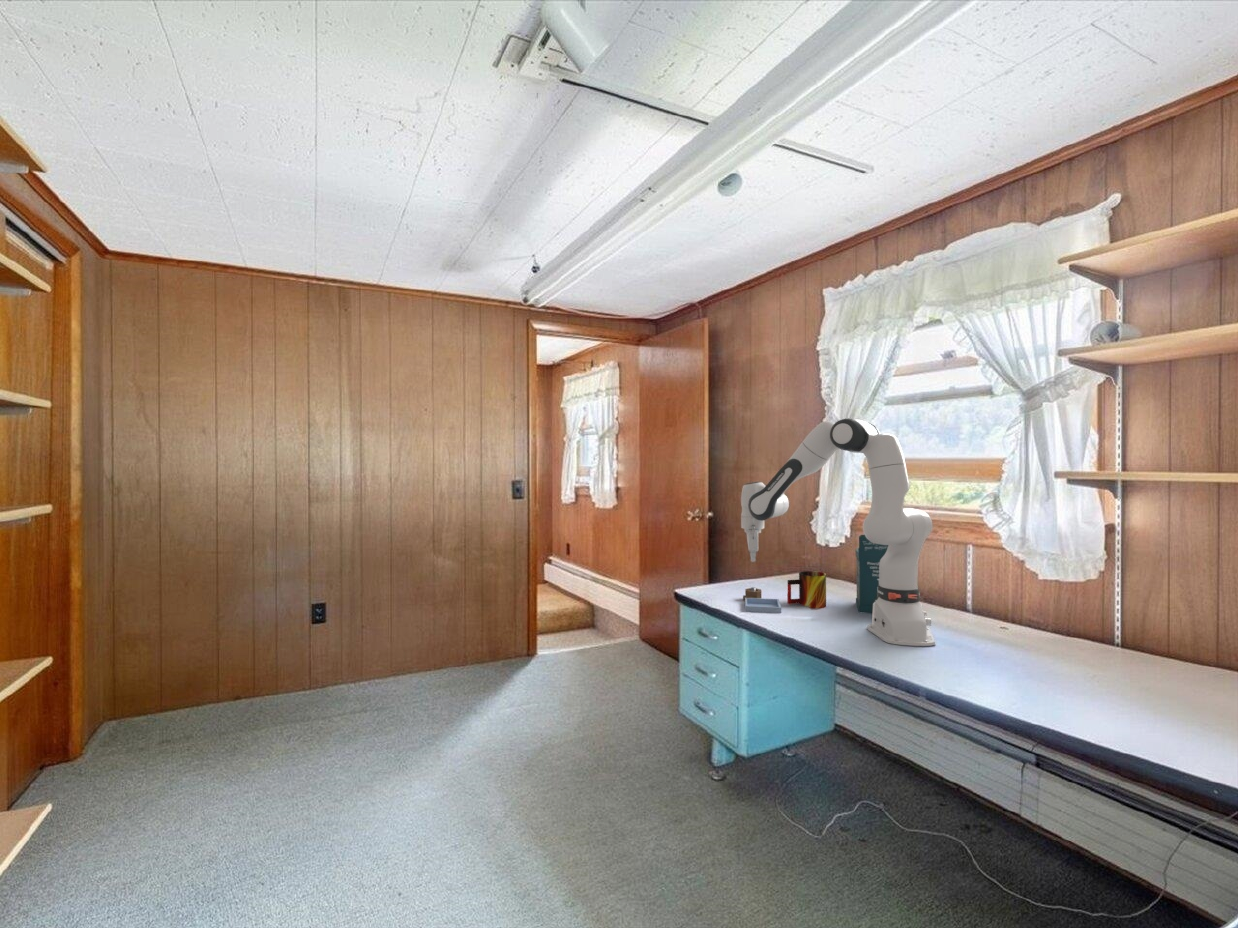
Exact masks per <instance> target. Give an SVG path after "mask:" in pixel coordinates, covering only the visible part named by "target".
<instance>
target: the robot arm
mask: <svg viewBox="0 0 1238 928" xmlns="http://www.w3.org/2000/svg"><path fill="white" fill-rule="evenodd" d="M838 450H842V451H847V452H850V453H854V454H855V453H856V454H857V453H858V454H859V453H860V454H863V455H864V456H865V458H866V461H867V467H868V472H869V473H868V474H869V478H870V486H871V492H872V493H871V495H872V496H871V503H870V509H869V512H868V514H867V515H866V517H865V518H864V520H863V524H862V532H863V535H865V537H866V538H867V539H868V540H869V541H870V542H872V543H875V544H880V545H888V548H887V551H886V553H885V555H884V556H883V557H882V558H881V560H880V562H879V585H878V589H877V591H878V596H879V597H878V599H877V600H876V601H875V602H874V603H873V613H871V614H872V615H871V616H872V617H871V618H872V619H871V620H872V621H871V623H870V624H867V625H866V629H867V630H868V631H869V632H871V633H872V634H873V635H875V636H876V637H877V638H879V639H880V640H882V641H883V642H885V643H888V644H892V645H893V644H894V645H898V646H899V645H900V646H901V645H902V646H912V647H913V646H916V647H930V646H936V641H935V638H934V635H933V632H932V630H931V628H929V627H930V626H932V619H931V618H930V617H928V616H927V615H928V614H927V611H924V609H923V604H922V603H921V602H920V601H921V598H920V597H921V595H920V589H919V587H918V573H919V572H918V569H919V568H918V566H919V560H920V555H921V553H922V550H923V546H924V543H925V541H926V540H927V539H928V537H929V536H930V535H931V533H932V532H933V531H932V530H933V528H934V527H933V521H932V518H931V517H930V515H929V514H928V513H927V512H925V511H923V510H921V509H915V508H912V507H911V508H904V502H905V497H906V495H907V493H908V492H909V490H910V482H909V476H908V471H907V465H906V461H905V456H904V453H903V449H902V447H901V444H900V442H899V439H898V437H896V436H895V435H894V434H890V433H886V432H885V433H881V432H880V430H879V429H878V427H876V426H875V425H874V424H873V423H870V422H867V421H864V420H861V419H856V418H855V419H854V418H848V417H847V418H842V419H840V420H837V421H836V422H835V423H833V422H830V421H822V422H820V423H819V424H818V425H816V426H815V427H814V428H813V429H812V430H811V431H810V432H809V433H808V434H807V435H806V437H804V439H803V440H802V442H801V443H800V444H799V445H798V446H797V448H796V450H795V451H794V452H793V453H792V455H791V456H790V458H788V460H787V461H786V463H784V465H783V466H782V467H780V469H779V470H778V471H777V473H776V474H775V475H774V476H773V477H772V478H771V480H769V482H768V483H767V484H764V483H763V482H762V481H752V482H747V483H745V484H744V485H742V489H741V494H740V496H741V497H740V505H741V514H740V528H741V529H743V530H744V533H746V540H747V548H748V552H749V556H750V562H752V563H755V562H756V560H757V559H756V558H757V557H756V556H757V552H759V534H761V533H762V530H764V529H765V521H766V520H768V519H773V518H777V517H780V516H783V515H785V514H786V513H787V512H788V511H789V508H790V501H789V497H788V496H787V494H785V492H786V491H787V490H788V489H789V488H790V487H791V486H792V485H793V484H794V483H795V482H796V481H798V480H800V479H802V478H805V477H807V476H810V475H813V474H815V473H817V472H818V471H819V470H820V469H822V468H823V467H824V466H825V465H826V464H827V463H828V461H829V460H830V459H831V457H832V456H833V455H834V454H835V453H836V451H838ZM926 616H927V617H926Z"/></svg>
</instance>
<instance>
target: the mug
mask: <svg viewBox="0 0 1238 928" xmlns="http://www.w3.org/2000/svg"><path fill="white" fill-rule="evenodd" d="M792 585H793V586H794V585H798V588H799V589H798V591H799V592H798V596H799V597H798V598H792ZM786 599H787V604H789V605H792V604H799V605H801V606H804V607H808V608H809V609H824V608H826V607H827V573H825V572H823V571H822V572H821V571H815V570H805V571H800V572H798V578H797V579H787V598H786Z"/></svg>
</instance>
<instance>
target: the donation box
mask: <svg viewBox="0 0 1238 928" xmlns="http://www.w3.org/2000/svg"><path fill="white" fill-rule="evenodd" d="M887 548H888V545H880V544H875V543H872V542H870V541H869V540H868V539H867V538H866V537H865V535H864V534H861V535H858V548H855V557H856V560H855V561H856V598H855V606H856V608H857V611H858V613H862V614H873V603H874V602H875V601H876V600H877V599H878V597H879V596H878V591H877V589H878V585H879V562H880V560H881V558H882V557H883V556H884V555H885V553H886V551H887Z"/></svg>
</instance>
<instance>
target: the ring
mask: <svg viewBox="0 0 1238 928" xmlns="http://www.w3.org/2000/svg"><path fill="white" fill-rule="evenodd" d="M751 588H752V587H749V588H745V589H744V590H745V591H744V592H745V593H744V594H745V595H744V594H743V595H742V601H744V600H745V598H762V589H760V588H757V587H755V588H756V591H751Z"/></svg>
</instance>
